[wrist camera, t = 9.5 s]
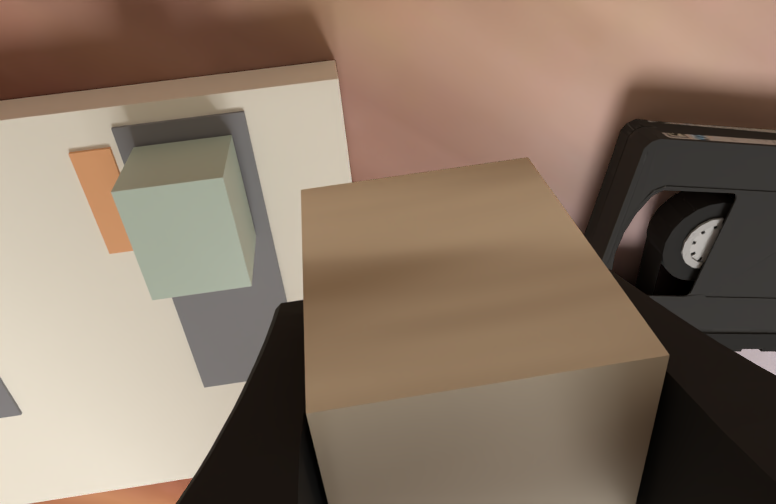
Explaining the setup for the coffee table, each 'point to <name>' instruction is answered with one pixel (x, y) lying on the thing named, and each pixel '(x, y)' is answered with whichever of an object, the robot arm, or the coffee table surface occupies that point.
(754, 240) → the vhs tape
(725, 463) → the robot arm
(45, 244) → the white base plate
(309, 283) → the block
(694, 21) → the coffee table surface
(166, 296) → the tab
